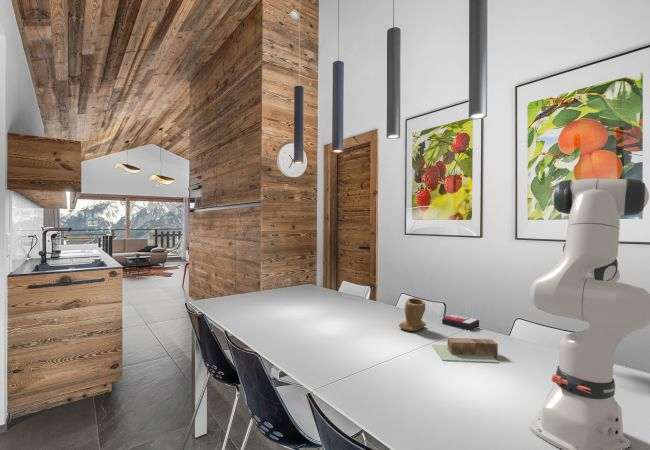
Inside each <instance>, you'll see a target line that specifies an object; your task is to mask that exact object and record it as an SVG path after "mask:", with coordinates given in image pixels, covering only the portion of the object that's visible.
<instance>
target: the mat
mask: <svg viewBox="0 0 650 450" xmlns="http://www.w3.org/2000/svg"><path fill="white" fill-rule="evenodd" d="M431 346H432V347H433V349H434V351H436V353H437V355H438V356H439V358H440V359H441V360H442V362H460V361H461V362H465V363H469V362H470V363H485V364H486V363H490V364H499V363H500V362H499V361H498V360H497V359H496V358H495V356H476V355H451V353H450V352H449V351H448V350H447V348H448V344H437V343H434V344H433V343H432V344H431Z"/></svg>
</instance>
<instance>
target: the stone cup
mask: <svg viewBox="0 0 650 450" xmlns="http://www.w3.org/2000/svg"><path fill="white" fill-rule="evenodd" d="M425 311H426V303H425V301H424V300H422V299H420V298H415V297H412V298H411V297H410V298H407V300H406V301H405V305H404V315H405V320H404V321H402V322H401V323H399V324H398V326H399V328H400V329H402V330H404V331H411V332H416V331H419V330H420V329H422V328H424V327H425V326H427V323H426V322H425V321H423V315H424V314H425Z"/></svg>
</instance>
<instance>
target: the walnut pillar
mask: <svg viewBox="0 0 650 450" xmlns="http://www.w3.org/2000/svg"><path fill="white" fill-rule="evenodd" d="M447 345H448V348H447V350H448V351H449V352H450V353H451V355H476V356H493V357H498V354H499V353H498V352H499V351H498V349H499V347H498V346H499V344H498V343H497V341H495V340H494V339H492V338H491V339H490V338H470V337H469V338H467V337H466V338H463V337H447Z"/></svg>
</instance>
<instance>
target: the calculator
mask: <svg viewBox="0 0 650 450" xmlns="http://www.w3.org/2000/svg"><path fill="white" fill-rule="evenodd" d="M441 324H442V325H445V326H450V327H454V328H457V329H461V330H464V329H466V330H465V331H468V330H470V331H469V332H471V330H472V331H473V329H474V328H476V329H477V328H479V327H480V320H479V319H477V318H471V317H467V316H462V315H461V316H460V315H457V314H450V315H447V316H444V317H443V318H442V319H441ZM474 330H475V329H474Z"/></svg>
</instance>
